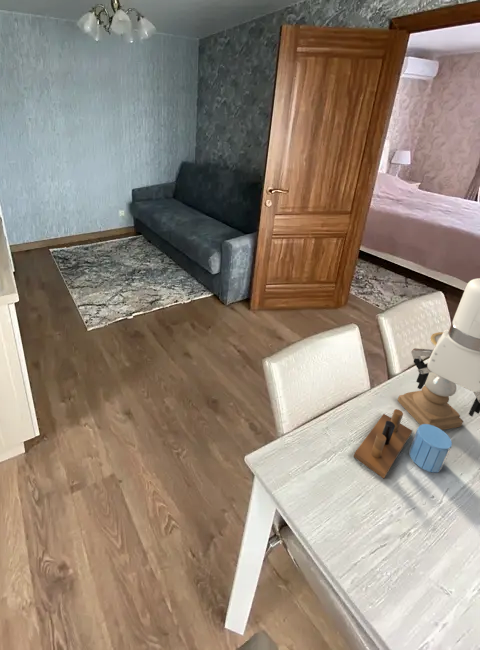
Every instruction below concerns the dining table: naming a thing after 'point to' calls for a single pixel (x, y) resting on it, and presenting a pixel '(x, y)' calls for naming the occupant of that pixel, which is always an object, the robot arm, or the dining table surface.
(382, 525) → the dining table surface
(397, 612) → the dining table surface
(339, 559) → the dining table surface
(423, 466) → the cup
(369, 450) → the rack
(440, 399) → the candle holder
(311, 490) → the dining table surface
